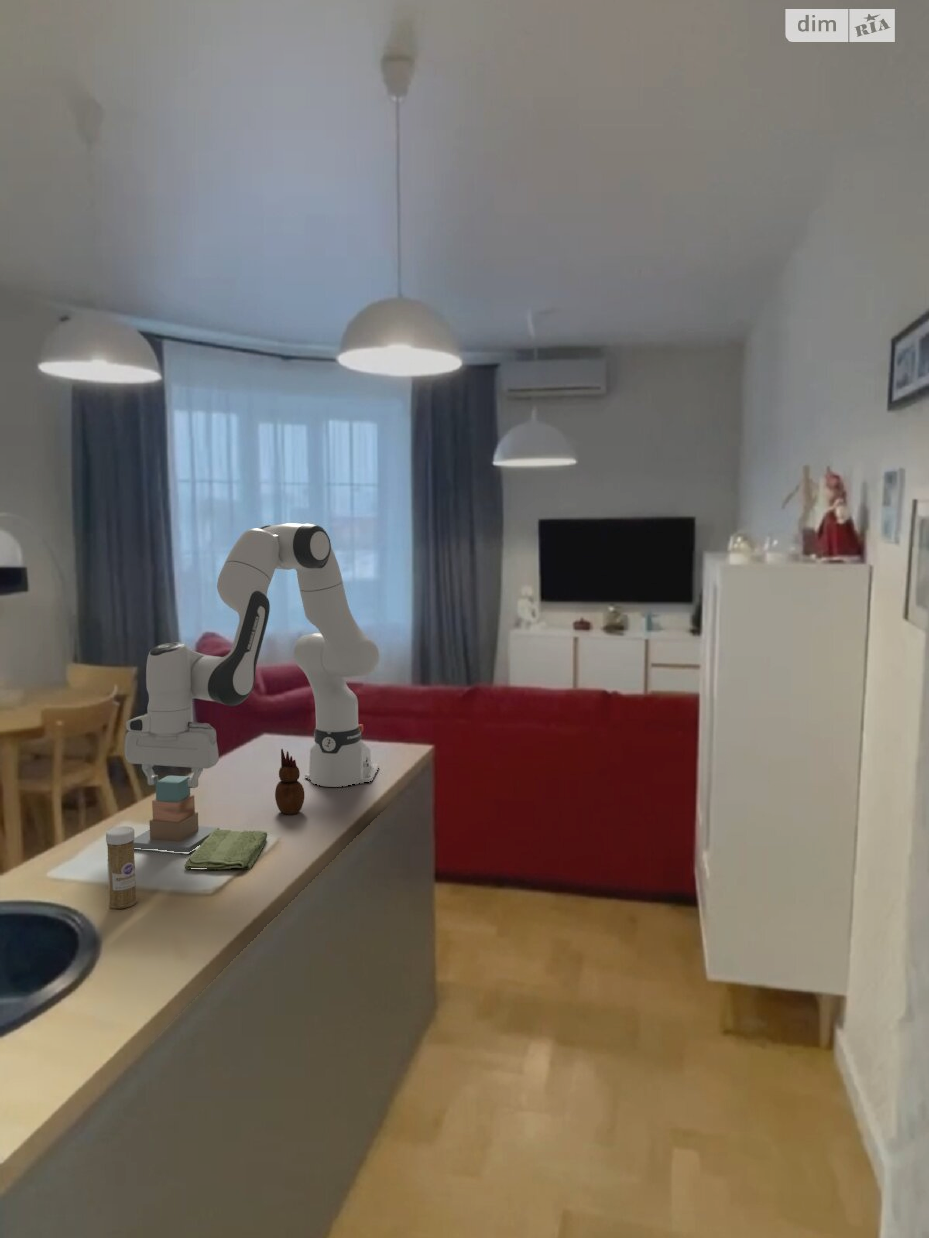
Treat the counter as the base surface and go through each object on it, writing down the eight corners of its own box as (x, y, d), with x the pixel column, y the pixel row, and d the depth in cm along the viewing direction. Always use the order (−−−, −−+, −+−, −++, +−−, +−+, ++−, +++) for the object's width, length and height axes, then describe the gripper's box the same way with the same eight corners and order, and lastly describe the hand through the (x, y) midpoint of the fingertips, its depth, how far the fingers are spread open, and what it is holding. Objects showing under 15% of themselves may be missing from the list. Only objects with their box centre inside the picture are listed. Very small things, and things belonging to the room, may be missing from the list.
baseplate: (162, 829, 182) (161, 804, 182) (219, 834, 179) (218, 809, 179) (128, 848, 171) (127, 823, 170) (188, 854, 168) (187, 828, 167)
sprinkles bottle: (123, 911, 142) (120, 835, 141) (103, 907, 144) (99, 832, 142) (142, 900, 146) (139, 827, 145) (122, 896, 148) (119, 823, 147)
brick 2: (170, 810, 178) (170, 792, 178) (194, 813, 177) (194, 794, 176) (152, 819, 173) (152, 800, 172) (177, 822, 171) (176, 803, 170)
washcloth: (181, 874, 159) (181, 858, 159) (211, 840, 177) (211, 826, 176) (249, 874, 159) (248, 858, 158) (272, 841, 176) (272, 826, 176)
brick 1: (168, 793, 177) (167, 775, 177) (190, 794, 176) (189, 776, 176) (156, 800, 172) (155, 782, 172) (178, 802, 171) (177, 783, 171)
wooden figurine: (271, 812, 194) (269, 749, 192) (291, 806, 198) (290, 744, 197) (288, 818, 189) (286, 754, 188) (308, 812, 193) (307, 749, 192)
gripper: (223, 720, 173) (225, 784, 175) (137, 715, 178) (140, 778, 179) (207, 726, 167) (209, 793, 168) (118, 722, 172) (121, 786, 173)
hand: (173, 785), depth 174 cm, fingers open, 8 cm apart
